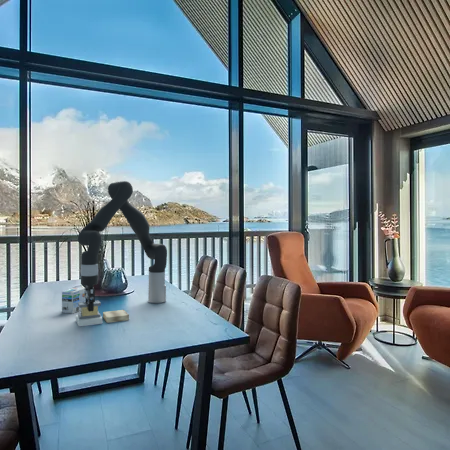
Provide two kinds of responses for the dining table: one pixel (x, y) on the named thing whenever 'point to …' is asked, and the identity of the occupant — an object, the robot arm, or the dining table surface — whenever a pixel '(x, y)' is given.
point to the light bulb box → (72, 300)
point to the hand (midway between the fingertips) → (89, 308)
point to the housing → (86, 313)
